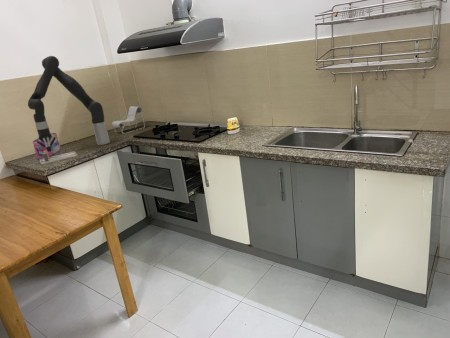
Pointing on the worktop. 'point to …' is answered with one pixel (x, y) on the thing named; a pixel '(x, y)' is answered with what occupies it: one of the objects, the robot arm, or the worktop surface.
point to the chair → (129, 118)
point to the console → (59, 157)
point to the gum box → (40, 149)
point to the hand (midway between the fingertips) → (49, 151)
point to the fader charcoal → (45, 156)
